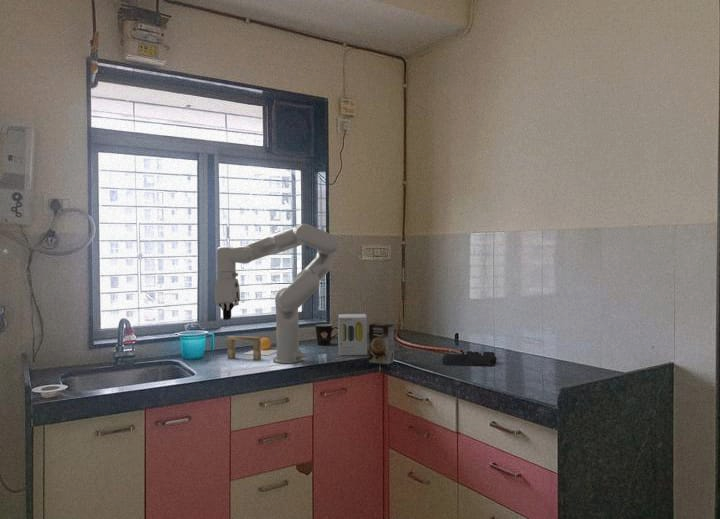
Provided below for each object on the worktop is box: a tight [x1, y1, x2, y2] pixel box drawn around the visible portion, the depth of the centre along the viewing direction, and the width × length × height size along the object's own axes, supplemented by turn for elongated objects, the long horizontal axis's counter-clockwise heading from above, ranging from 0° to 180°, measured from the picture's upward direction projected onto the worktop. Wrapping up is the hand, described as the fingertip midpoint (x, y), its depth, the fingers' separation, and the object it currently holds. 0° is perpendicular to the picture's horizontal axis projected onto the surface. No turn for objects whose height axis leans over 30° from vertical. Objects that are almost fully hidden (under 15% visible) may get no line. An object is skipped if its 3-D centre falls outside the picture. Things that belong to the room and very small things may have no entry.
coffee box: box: [368, 322, 395, 365], centre depth 220 cm, size 9×6×16 cm
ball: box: [261, 336, 272, 350], centre depth 253 cm, size 6×6×6 cm
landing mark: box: [242, 348, 277, 356], centre depth 246 cm, size 13×13×1 cm
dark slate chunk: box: [442, 350, 497, 368], centre depth 217 cm, size 15×22×5 cm
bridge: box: [226, 335, 262, 361], centre depth 231 cm, size 3×15×10 cm, turn 71°
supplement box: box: [337, 313, 368, 356], centre depth 242 cm, size 13×13×18 cm
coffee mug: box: [314, 323, 338, 347], centre depth 265 cm, size 12×9×10 cm
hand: (227, 319), depth 219 cm, fingers closed
